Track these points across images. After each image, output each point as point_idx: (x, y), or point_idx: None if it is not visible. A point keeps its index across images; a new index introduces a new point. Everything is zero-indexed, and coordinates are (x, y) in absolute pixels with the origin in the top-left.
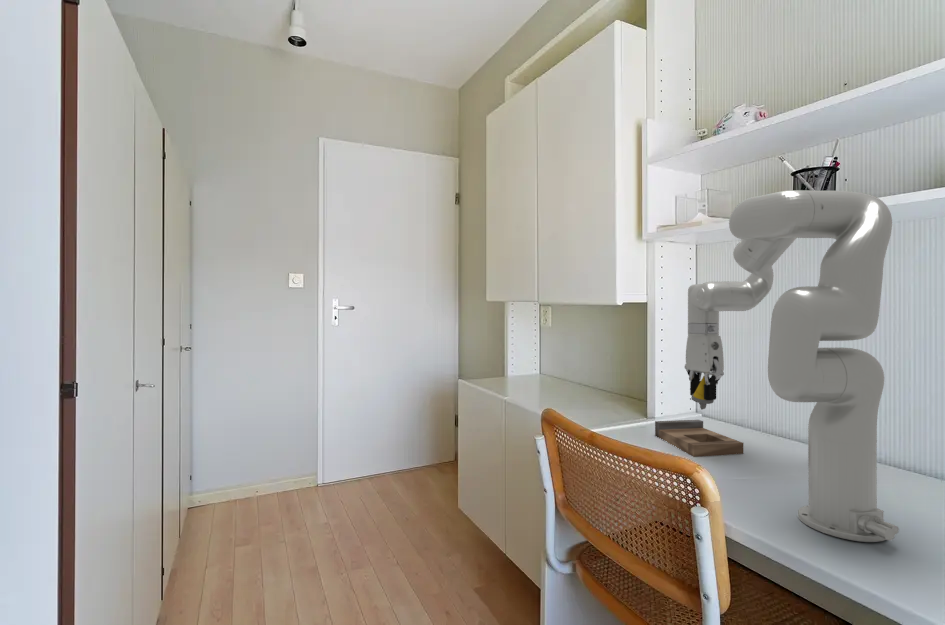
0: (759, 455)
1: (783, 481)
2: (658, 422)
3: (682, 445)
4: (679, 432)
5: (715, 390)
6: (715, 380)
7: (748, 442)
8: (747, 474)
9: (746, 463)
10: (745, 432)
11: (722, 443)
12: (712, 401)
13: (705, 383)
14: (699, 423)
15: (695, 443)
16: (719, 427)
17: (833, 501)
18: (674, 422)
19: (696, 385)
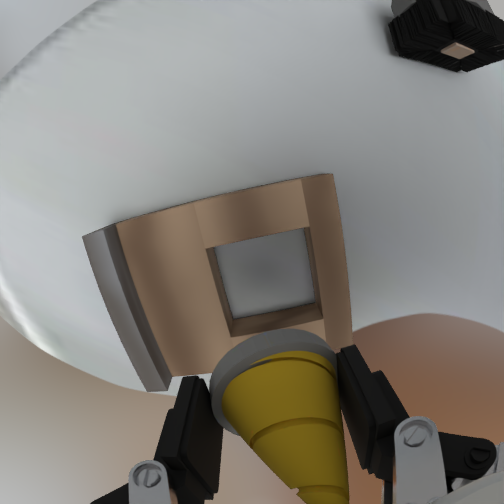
0: (326, 127)
1: (485, 206)
2: (162, 389)
3: None
4: (196, 334)
5: (376, 387)
6: (455, 453)
7: (172, 87)
8: (455, 256)
9: (398, 213)
10: (68, 65)
11: (341, 253)
12: (330, 348)
13: (347, 472)
14: (112, 244)
15: (336, 335)
16: (23, 124)
17: None
18: (145, 344)
19: (209, 458)
